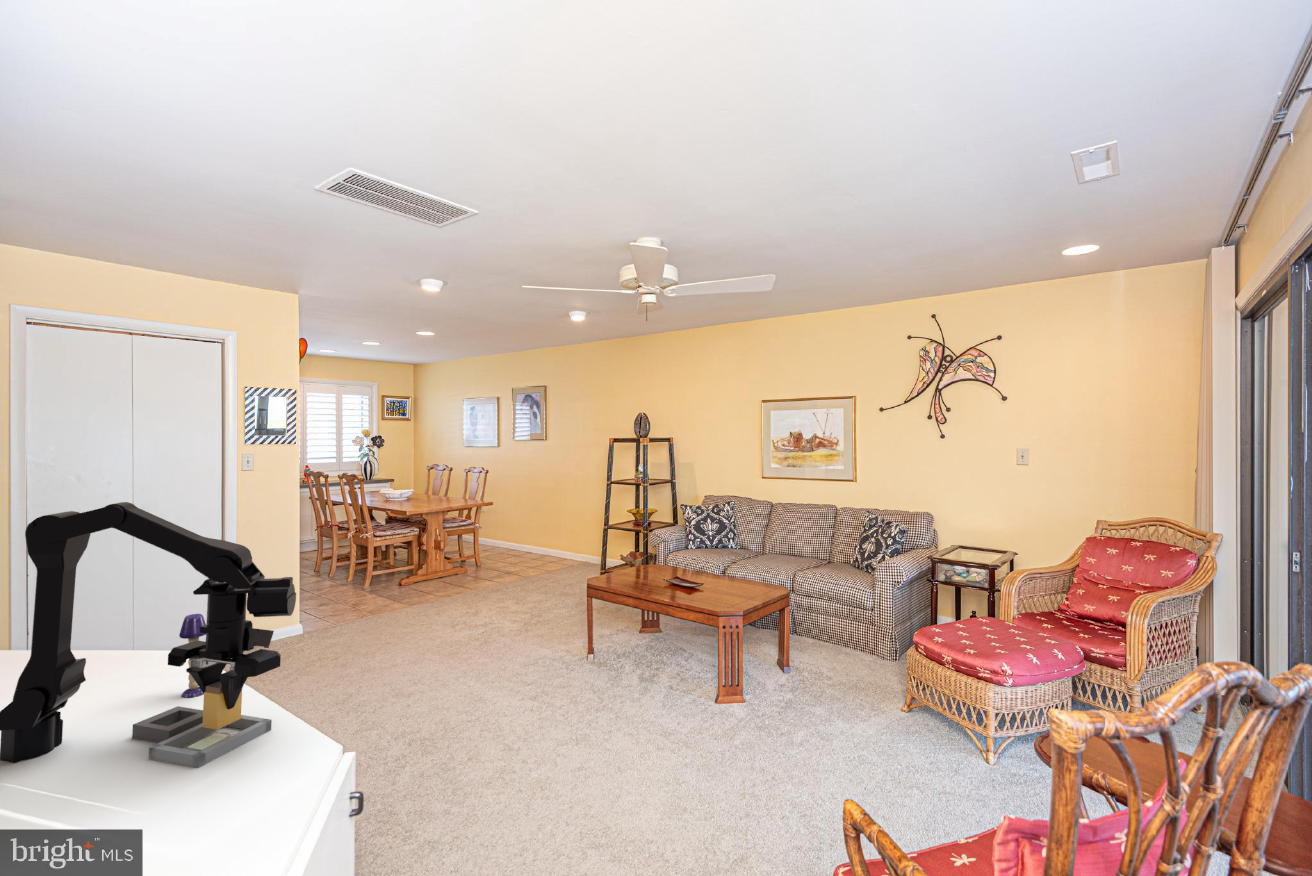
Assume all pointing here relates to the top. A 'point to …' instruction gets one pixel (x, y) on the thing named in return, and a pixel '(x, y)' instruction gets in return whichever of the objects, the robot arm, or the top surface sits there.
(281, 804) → the top surface
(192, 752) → the parts tray
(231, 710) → the block
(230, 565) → the robot arm
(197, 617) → the toy lamp
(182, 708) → the fuse holder
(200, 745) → the block
